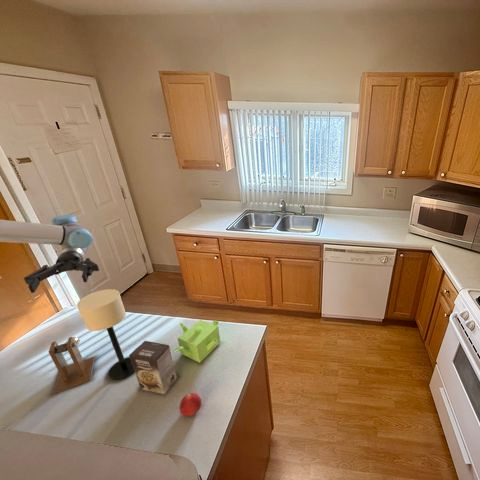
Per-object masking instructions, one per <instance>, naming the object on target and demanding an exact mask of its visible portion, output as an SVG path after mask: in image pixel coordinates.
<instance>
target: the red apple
mask: <svg viewBox="0 0 480 480" xmlns="http://www.w3.org/2000/svg"><path fill="white" fill-rule="evenodd" d="M201 406H202V398H201V396H200V395H199V394H198V393H196V392H190V393H187V394H186V395H184V397H182V399H181V401H180V403H179V411H180V414H181V415H182V416H184V417H191V416H194V415H195V414H197V413H198V412H199V410H200V409H201Z"/></svg>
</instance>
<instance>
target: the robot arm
mask: <svg viewBox="0 0 480 480" xmlns="http://www.w3.org/2000/svg"><path fill="white" fill-rule="evenodd" d="M51 223H52V224H49V223H48V224H47V223H39V222H27V221H18V220H8V219H0V243H11V244H12V243H15V244H34V245H36V244H37V245H55V246H60V247H61V249H62V250H61V251H60V253H59V255H58V257H57V259H56V260H55V263H54V264H53V265H48V264H44V265H42V266H41V267H40V268H39V269H36V270H34V271H33V272H32V273H29V274H27V275H26V276H25V277H23V280H24V282H25V284H26V285H28V286H27V287H28V289H29V291H30V293H31V294H34V293H36V291H37V289H38V287H39V286H40V284H41V282H42V281H44V280H46V279H49V278H51V277H53V276H54V275H56V276H57V275H60V274H62V273H65V272H72V271H77V272H79V271H80V272H82V274H81V279H82V280H83V283H87V282H88V279H89V277H90V276H92V275H93V273H94V272H99V271H100V268H99V265H98V264H97V263H96V262H94V261H93V260H91V258H90V257H86V253H87V252H88V249H89V246H91V245H92V243H93V242H94V236H93V234H92V233H91V232H90V231H89V230H88V229H85V228H84V227H82V226H81V225H80V224H79V221H78V220H77V218H76V216H75V215H73V214H62V215H57V216H54V217H52V219H51ZM85 257H86V258H85Z"/></svg>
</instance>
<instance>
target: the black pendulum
mask: <svg viewBox="0 0 480 480" xmlns="http://www.w3.org/2000/svg"><path fill="white" fill-rule="evenodd" d="M72 337H73V338H74V341H75V343H76V345H77V346H79V344H80V341H81V340H80V338H79V337H76V336H72ZM67 342H68V339H67V340H65V342H64V343H61V344H58V346H56V349H57V354H59V353H62V354H63V353H66V352H68V350H67V348H66V345H67Z"/></svg>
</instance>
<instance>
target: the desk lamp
mask: <svg viewBox="0 0 480 480" xmlns="http://www.w3.org/2000/svg"><path fill="white" fill-rule="evenodd" d="M76 307H77V310H78V312H79V314H80V316H81V319H82V321H83V323H84V327H85V328H86V330H88V331H92V332H98V331H104V330H106V331H107V334H108V336H109V340H110V341H111V342H110V343H111V345H112V347H113V350H114V353H115V355H116V358H117V360H118V361H116V362H115V363H114V364H113V365H112V366H111V367H110V368H109V370H108V372H107V376H108V378H109V379H110V380H112V381H120V380H124V379H126V378H129V377H130V376H132V375H133V374H134V373H135V371H134V368H133V365H132V362H131V360H130V357H129V356H128V357H125V356H124V353H123V351H122V348H121V345H120V342H119V340H118V337H117V335H116V331H115V329H114V327H115V326H116V325H118V324H120V323H121V322H122V321H123V320H124V319H125V318H126V315H127V311H126V310H125V305H124V303H123V300H122V296H121V294H120V291H118V290H117V289H113V288H112V289H111V288H110V289H101V290H98V291H97V290H96V291H94V292H92V293H91V292H90V293H89V294H87V295H85V296H84V297H82V298H81V299H79V301H78V302H77V304H76Z"/></svg>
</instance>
